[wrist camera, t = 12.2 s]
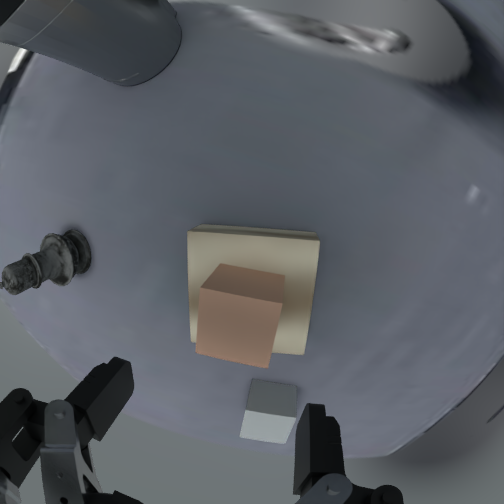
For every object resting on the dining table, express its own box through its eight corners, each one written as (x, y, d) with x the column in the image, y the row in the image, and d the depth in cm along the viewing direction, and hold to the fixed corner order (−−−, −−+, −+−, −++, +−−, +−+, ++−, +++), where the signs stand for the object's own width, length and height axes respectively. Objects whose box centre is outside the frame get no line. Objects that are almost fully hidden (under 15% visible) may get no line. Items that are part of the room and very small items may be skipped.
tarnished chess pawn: (67, 217, 26) (-15, 241, 15) (99, 246, 26) (16, 283, 15) (55, 257, 28) (-16, 289, 16) (85, 285, 28) (14, 330, 16)
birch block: (202, 223, 25) (187, 231, 21) (315, 231, 23) (320, 241, 20) (203, 321, 27) (191, 341, 23) (302, 331, 26) (303, 355, 22)
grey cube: (252, 378, 28) (245, 409, 23) (296, 385, 28) (296, 417, 23) (246, 406, 29) (239, 436, 25) (286, 413, 29) (284, 443, 24)
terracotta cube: (220, 263, 21) (200, 287, 16) (284, 275, 21) (282, 303, 16) (214, 319, 22) (195, 352, 18) (273, 331, 22) (267, 368, 17)
